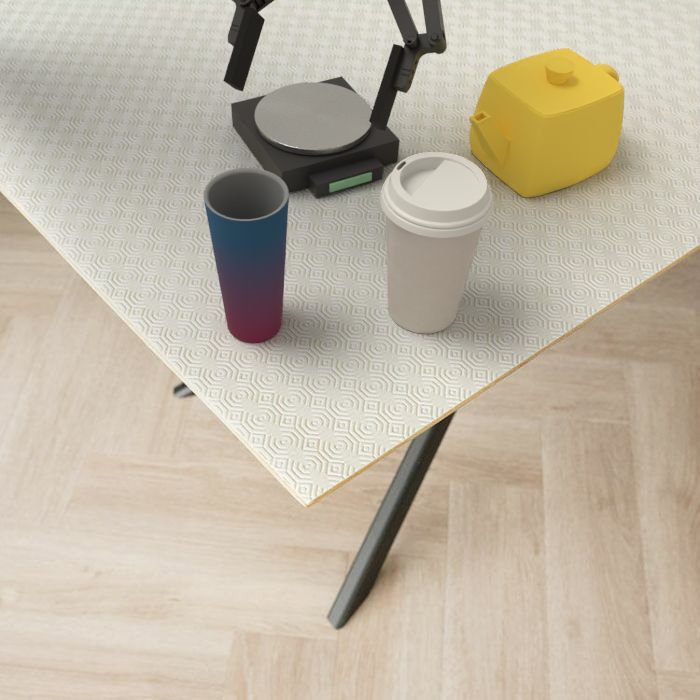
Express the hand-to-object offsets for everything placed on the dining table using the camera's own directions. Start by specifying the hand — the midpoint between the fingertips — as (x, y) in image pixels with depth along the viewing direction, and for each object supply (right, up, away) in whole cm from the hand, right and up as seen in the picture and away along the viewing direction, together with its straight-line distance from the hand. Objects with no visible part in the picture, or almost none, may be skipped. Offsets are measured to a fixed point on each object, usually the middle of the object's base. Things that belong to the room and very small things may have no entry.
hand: (303, 106), depth 78 cm
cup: (-5, -18, +6) cm, 20 cm away
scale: (0, +2, +25) cm, 25 cm away
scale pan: (0, +5, +23) cm, 23 cm away
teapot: (+25, 0, +25) cm, 35 cm away
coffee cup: (+11, -17, +8) cm, 22 cm away
